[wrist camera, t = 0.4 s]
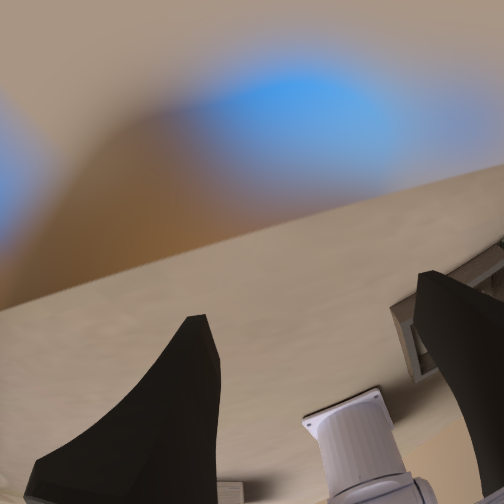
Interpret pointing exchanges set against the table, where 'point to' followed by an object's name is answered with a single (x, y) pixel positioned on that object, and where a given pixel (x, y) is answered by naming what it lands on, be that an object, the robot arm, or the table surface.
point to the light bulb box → (230, 492)
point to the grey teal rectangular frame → (472, 273)
